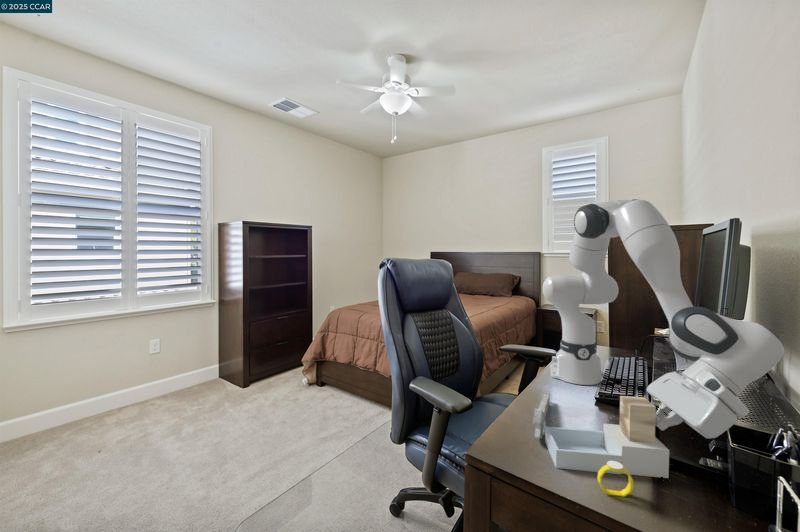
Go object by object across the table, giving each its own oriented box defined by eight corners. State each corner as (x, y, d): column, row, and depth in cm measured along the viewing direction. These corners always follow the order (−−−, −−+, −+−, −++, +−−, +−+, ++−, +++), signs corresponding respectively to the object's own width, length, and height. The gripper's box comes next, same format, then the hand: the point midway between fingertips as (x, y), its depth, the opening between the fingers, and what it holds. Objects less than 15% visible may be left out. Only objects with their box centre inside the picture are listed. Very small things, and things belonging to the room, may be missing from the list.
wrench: (549, 412, 111) (540, 448, 84) (543, 411, 112) (532, 446, 85) (550, 386, 111) (541, 413, 85) (543, 385, 112) (532, 412, 85)
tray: (545, 442, 88) (545, 426, 87) (601, 447, 85) (601, 431, 85) (556, 467, 77) (556, 450, 77) (620, 474, 75) (621, 456, 75)
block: (619, 429, 82) (620, 395, 82) (643, 431, 81) (644, 397, 81) (629, 440, 77) (630, 405, 77) (654, 443, 76) (655, 406, 76)
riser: (603, 448, 85) (603, 423, 85) (644, 451, 83) (644, 426, 83) (621, 473, 75) (621, 446, 75) (668, 478, 74) (669, 450, 73)
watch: (601, 498, 68) (599, 467, 68) (596, 488, 71) (594, 459, 71) (636, 500, 67) (634, 469, 67) (629, 490, 70) (627, 461, 70)
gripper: (668, 359, 87) (623, 395, 89) (730, 392, 67) (671, 438, 69) (688, 378, 86) (643, 414, 88) (757, 417, 66) (696, 462, 68)
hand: (655, 425), depth 78 cm, fingers closed
